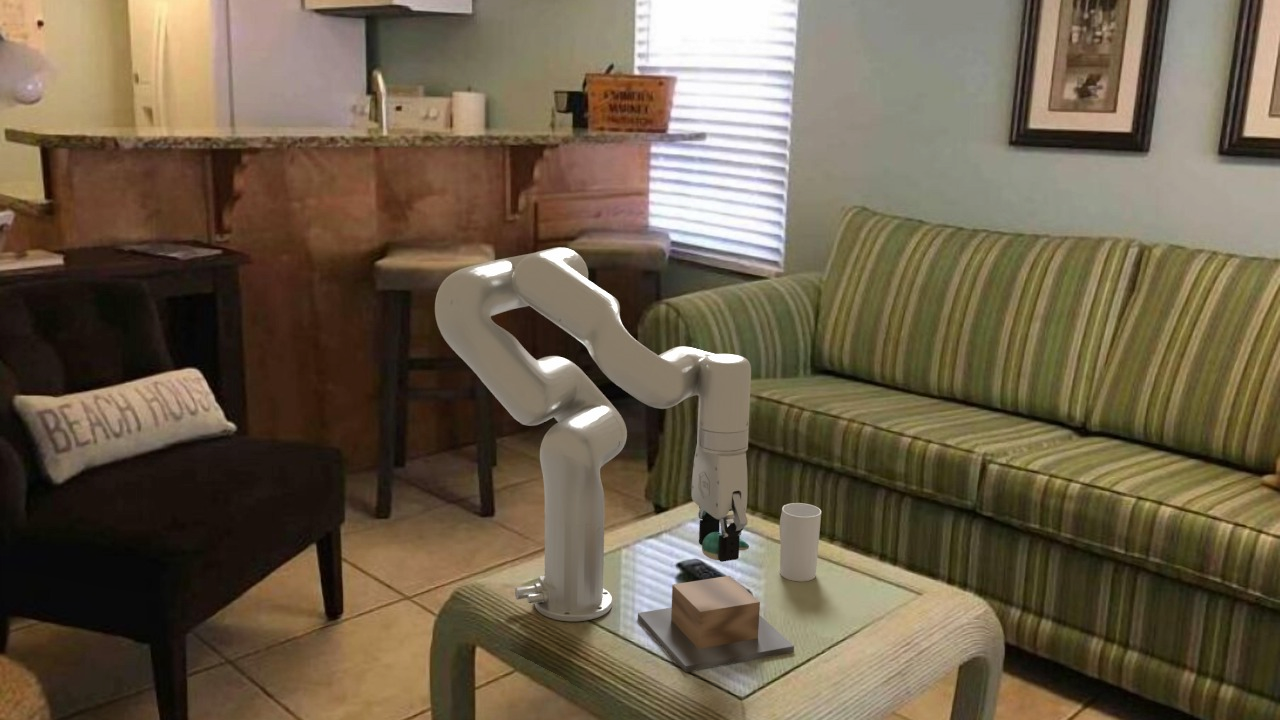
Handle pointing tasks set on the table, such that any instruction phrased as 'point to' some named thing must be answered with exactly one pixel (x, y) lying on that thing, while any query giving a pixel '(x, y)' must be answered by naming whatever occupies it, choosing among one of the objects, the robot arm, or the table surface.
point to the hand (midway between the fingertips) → (718, 550)
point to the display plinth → (712, 653)
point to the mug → (799, 541)
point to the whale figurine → (716, 545)
